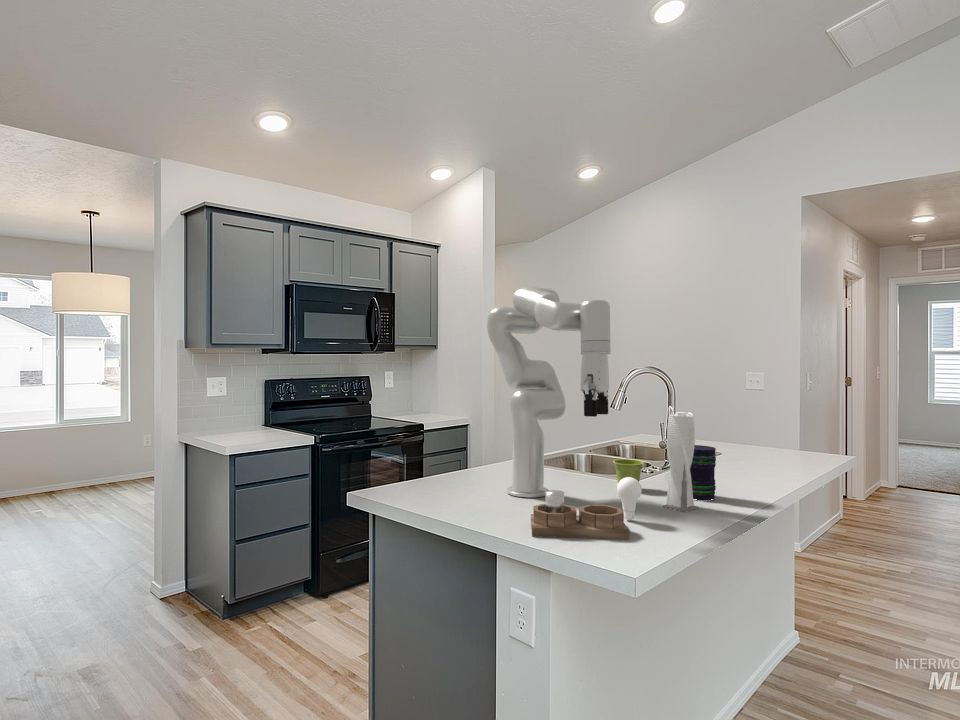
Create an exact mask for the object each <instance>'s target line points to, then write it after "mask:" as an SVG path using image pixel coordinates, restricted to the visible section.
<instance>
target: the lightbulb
mask: <svg viewBox="0 0 960 720" xmlns="http://www.w3.org/2000/svg"><path fill="white" fill-rule="evenodd" d="M642 491H643V488H642V484H641V483H640V481H639V482H638V481H637V480H636V479H634V478H631V477H626V478H623V479H622V480H620V481H619V483H618V482H617V485H616V492H617V495H618V497H619V498H620V500H621V505H622V506H621V507H622V511H623V512H624V519H625V520H626V521H627V522H630V521H632V520H634V519H635V511H636V506H637V502H638V500H639V499H640V497H641V496H642V495H641V494H642Z"/></svg>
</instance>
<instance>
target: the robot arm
mask: <svg viewBox="0 0 960 720" xmlns="http://www.w3.org/2000/svg"><path fill="white" fill-rule="evenodd" d="M512 305H513V306H498V307H496V308H494V309H492V310H491V311H490V312H489V313H488V316H487V320H486V329H487V334H488V338H489V340H490V343H491V346H493V348H494V349H495V352H496V354H497V356H498V358H499V362H500V365H501V366H500V367H501V368H502V372H503V375H504V378H505V380H506V383H507V385H508V387H509V388H511V390H517V391H515V392H514V393H513V394H512V395H511V397H510V399H509V400H510V401H509V408H510V414H511V421H512V472H511V473H512V475H511V476H512V477H511V478H512V480H511V481H512V482H511V483H512V484H511V486H509V487H507V489H506V490H507V491H506V492H507V494H508V495H510V496H513V497H517V498H519V497H520V498H541V497H546V491H548V490H549V489H548V488H547V487H545V485H544V484H545V482H544V481H545V477H544V476H545V475H544V474H545V435H544V431H543V429H542V427H541V426H540V423H539V421H547V420H548V421H551V420H558V419H560V418H562V417H563V416H564V414H565V412H566V399H565V395H564V393H563V390H562V388H561V385H560V381H559V379H558V377H557V374H556V371H555V369H554V367H553V365H552V364H550V363H549V362H547V361H545V360H542V359H530V358H528V356H527V353H526V351H525V348H524V345H522V343H521V342H520V340H518V339H517V338H516V337H515V336H513V334H524V335H525V334H526V335H527V334H528V335H531V334H535V333H538V332H539V331H540V330H541V329H542V328H543V327H544V328H547V329H548V330H552V331H558V332H560V331H561V332H563V331H564V332H580V355H582V356H581V361H580V362H581V363H580V382H579V383H580V384H579V385H580V392H581V393H583V416H585V417H597V416H598V415H608V414H609V394H608V393H609V387H610V386H609V385H610V374H609V373H610V372H609V361H608V359H609V358H608V356H609V355H611V348H612V347H611V306H610V305H611V304H610V303H609V302H608V301H607V300H604V299H601V300H600V299H590V300H585V301H583V302H582V303H578V302H577V303H576V302H566V301H564V302H563V301H560V297H559V294H558V293H557V291H555V290H554V289H551V288H548V287H536V286H535V287H534V286H524V287H521V288H519V289H517V290H516V291H515V292H514V294H513V297H512Z"/></svg>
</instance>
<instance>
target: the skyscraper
mask: <svg viewBox="0 0 960 720" xmlns="http://www.w3.org/2000/svg"><path fill="white" fill-rule="evenodd" d="M671 412H672V414H671ZM667 420H668V421H667V428H666V450H667V458H668V464H669V469H670V471H669V477H668V485H667V486H668V487H667V492H666V493H667V494H666V504H663V505H662V508H664V507H667V508H666V509H669V508H671V509H670V510H673V509H676V510H675V511H678V510H680V511H679V512H682V511H685V512H684V513H687V512H686V511H688V512H690V511H689V510H691V511H694V510H693V509H695V510H697V509H696V508H698V509H699V508H700V506H697V505H694V500H693V491H692V481H691V474H690V467H691V463H692V459H693V454H694V445H696V444H695V443H696V442H695V441H696V440H695V439H696V437H695V436H696V431H695V417H694V414H693V413H692V412H691V411H689V412H685V411H676V412H675V410H674V408H673V406H671V405H669V406H668V419H667Z"/></svg>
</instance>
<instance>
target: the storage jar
mask: <svg viewBox="0 0 960 720" xmlns="http://www.w3.org/2000/svg"><path fill="white" fill-rule="evenodd" d="M716 450H717V449H716V447H714V446H709V445H700V444H699V445H698V444H697V445H696V444H695V445H694V454H693V459H692V463H691V467H690V474H691V481H692V491H693V499H697V500H696V501H698V500H711V499H714V498H715V499H716V496H715V494H716V489H717V487H716V480H715V479H716V478H715V475H716V474H715V473H716V472H715V470H716V469H715V467H716V464H717V463H716V461H717V456H716ZM715 499H714V500H715ZM711 501H712V500H711Z"/></svg>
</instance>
